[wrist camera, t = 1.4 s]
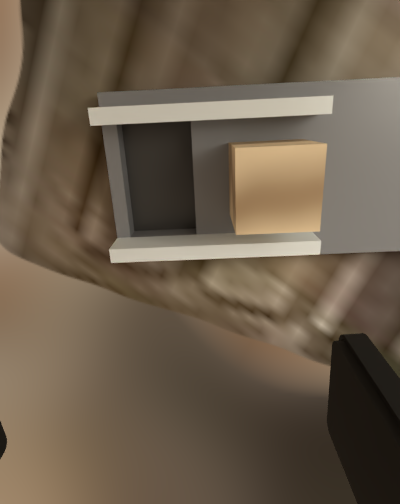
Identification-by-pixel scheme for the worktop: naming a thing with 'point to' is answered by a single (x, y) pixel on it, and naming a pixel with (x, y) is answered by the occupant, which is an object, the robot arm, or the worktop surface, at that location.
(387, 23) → the worktop surface
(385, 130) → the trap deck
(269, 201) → the maple block
